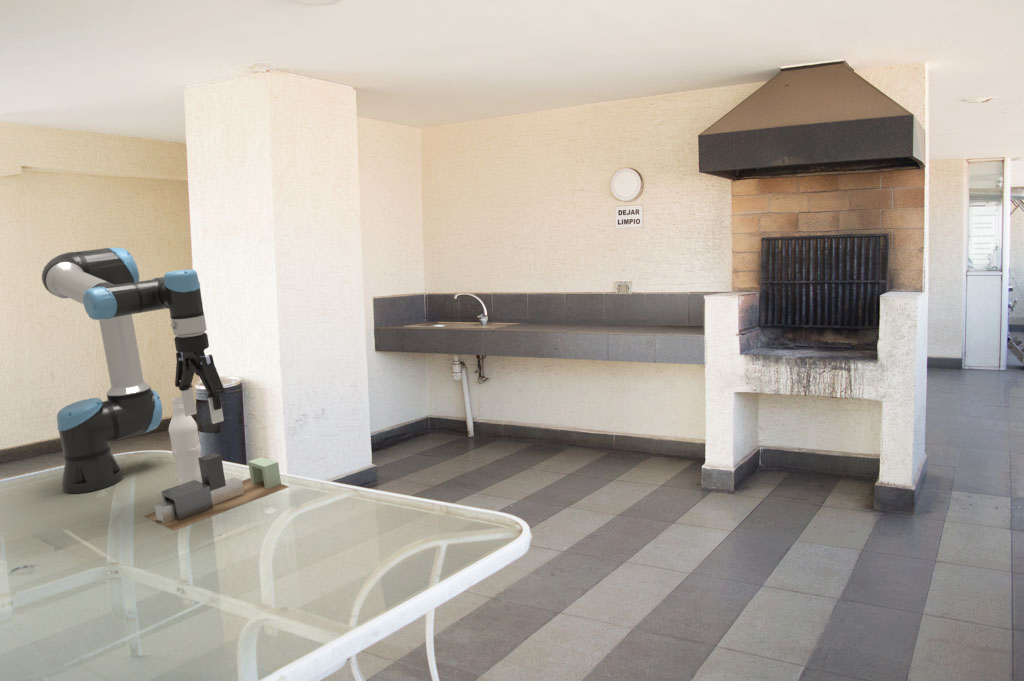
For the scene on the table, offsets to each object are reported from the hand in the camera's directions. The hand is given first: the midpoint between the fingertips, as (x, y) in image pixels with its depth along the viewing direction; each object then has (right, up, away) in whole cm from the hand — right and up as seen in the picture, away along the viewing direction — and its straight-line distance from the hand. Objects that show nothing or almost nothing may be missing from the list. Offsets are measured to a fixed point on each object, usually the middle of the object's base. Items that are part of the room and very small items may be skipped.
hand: (204, 418), depth 198 cm
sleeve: (-3, -24, -1) cm, 24 cm away
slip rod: (-1, -22, +1) cm, 22 cm away
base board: (+2, -22, +5) cm, 23 cm away
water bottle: (-10, -21, +18) cm, 29 cm away
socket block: (+11, -19, +14) cm, 27 cm away
